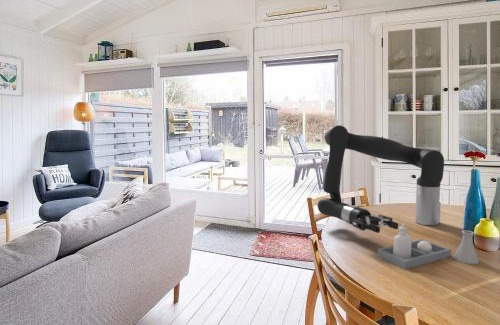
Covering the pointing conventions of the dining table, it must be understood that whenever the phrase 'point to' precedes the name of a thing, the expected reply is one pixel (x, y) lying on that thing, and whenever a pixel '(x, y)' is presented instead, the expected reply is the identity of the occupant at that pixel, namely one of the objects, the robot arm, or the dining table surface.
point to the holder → (415, 255)
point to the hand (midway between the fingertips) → (388, 228)
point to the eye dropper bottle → (402, 244)
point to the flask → (466, 249)
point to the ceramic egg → (424, 247)
